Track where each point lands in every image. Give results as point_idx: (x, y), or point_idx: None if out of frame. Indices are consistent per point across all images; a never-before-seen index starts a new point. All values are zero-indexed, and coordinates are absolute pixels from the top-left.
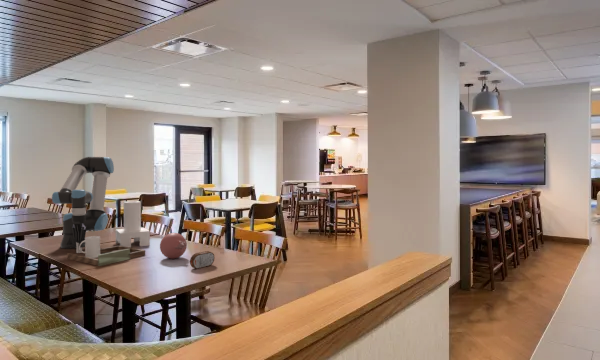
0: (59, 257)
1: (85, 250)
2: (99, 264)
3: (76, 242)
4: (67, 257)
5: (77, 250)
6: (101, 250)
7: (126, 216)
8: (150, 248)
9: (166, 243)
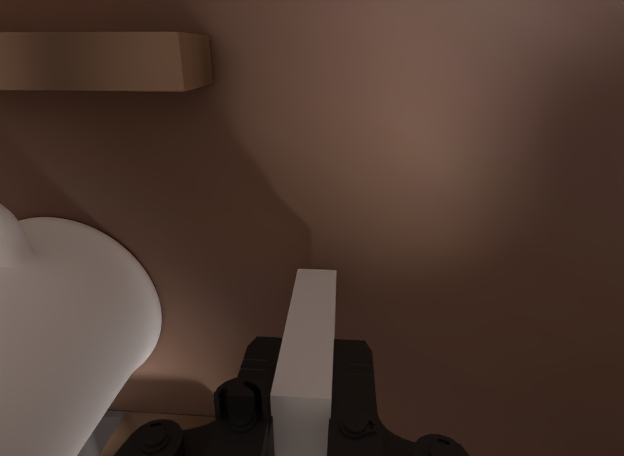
0: (423, 14)
1: (2, 276)
2: None
3: (325, 396)
4: (198, 34)
5: (303, 290)
6: (103, 454)
7: None
8: None
9: None
